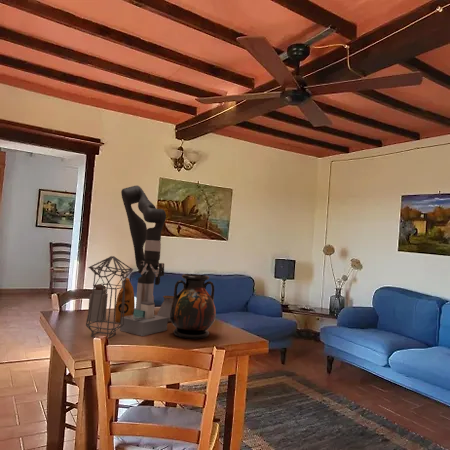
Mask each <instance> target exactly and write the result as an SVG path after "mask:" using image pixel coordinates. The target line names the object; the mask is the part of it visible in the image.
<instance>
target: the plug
mask: <svg viewBox="0 0 450 450" xmlns="http://www.w3.org/2000/svg"><path fill="white" fill-rule="evenodd" d="M155 305H156V303H155V302H148V301H147V302H141V310H143V311H145V317H146V318H145V319H150V318H154V315H155Z"/></svg>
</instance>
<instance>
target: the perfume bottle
mask: <svg viewBox="0 0 450 450" xmlns="http://www.w3.org/2000/svg"><path fill="white" fill-rule="evenodd" d="M96 286H100V287H95V291H94V298H93V304H92V311H91V318H90V321H91V322H90V323H92V322H94V321H96V320H97V315H98V309H99V303H100V298H101V292H102V288H101V287H103V284H101V285H97V284H96ZM92 292H93V289H91V293H90V294H89V298H88V310H87V311H89V306H90V302H91V297H92ZM105 295H106V288H103V294H102V299H101V305H100V310H99V316H98V321H102V318H103V310H104V303H105ZM108 295H109V294H108V293H107V297H106V304H105V312H104V319H103V321H107V308H108ZM90 309H91V308H90ZM89 316H90V313H89ZM88 322H89V318H88Z"/></svg>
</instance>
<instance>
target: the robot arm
mask: <svg viewBox="0 0 450 450" xmlns="http://www.w3.org/2000/svg"><path fill="white" fill-rule="evenodd" d="M120 193H121V199H122V202H123V206H124V209H125V213H126V216H127V222H128V226H129V231H130V236H131V239H132V240H131V241H132V245H133V250H134V258H135V266H136V268H137V270H138V271H137V272H138V274H140V275H141V276H139V277H138V278H137V286H136V288H137V289H136V299H135V309H138V310H141V302H147V301H148V302H154V300H155V296H154V286H159V285H160V282H161V277H163V276H164V275H165V263H164V262H160V259H161V248H162V247H161V245H162V243H161V240H162V231H163V227H164V224H165V222H166V219H167V214H166V211H165V210H164V209H162V208H156V205H154V203H153V202H152V201H150V200H149V198H148V197H147V195H146V193H145V191H144V190H143V188H142V187H141V186H139V185H132V186H129V187H125V188H122V189H121V192H120ZM137 203H138V204H137ZM134 204H137V208H138V210H139V211H140V213H142V216H143V218H141V217H140V216H139V215H138V214H137V213H136V212H135V210H134V209H133V208H132V205H134ZM143 219H144V220H143ZM146 223H150V224H153V223H154V224H155V225H154V226H153V227H147V224H146ZM154 303H155V302H154Z"/></svg>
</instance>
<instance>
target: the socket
mask: <svg viewBox="0 0 450 450" xmlns="http://www.w3.org/2000/svg"><path fill="white" fill-rule="evenodd" d="M167 321H168V318H167V317H162V316H157V314H154V318H150V319H143V320H138V321H133V320H129V319H125V318H124V326H122V327H121V328H119V331H121V332H123V333H124V332H125V333H128V334H132V335H137V336H139V337H144V336H149V335H151V334H152V335H153V334H157V333H161V332H165V331H167V330H168V322H167ZM121 323H123V317H122V320H121ZM119 326H121V324H120V325H119Z"/></svg>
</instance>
